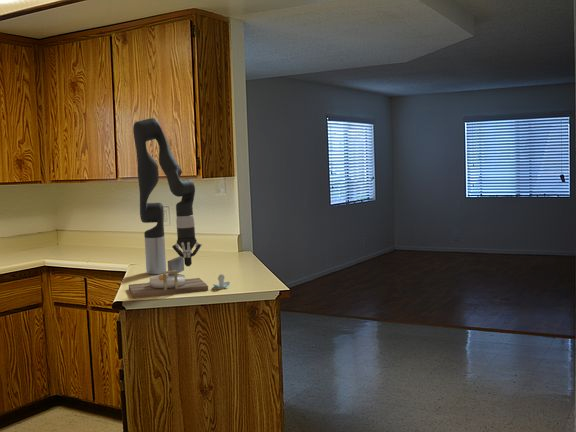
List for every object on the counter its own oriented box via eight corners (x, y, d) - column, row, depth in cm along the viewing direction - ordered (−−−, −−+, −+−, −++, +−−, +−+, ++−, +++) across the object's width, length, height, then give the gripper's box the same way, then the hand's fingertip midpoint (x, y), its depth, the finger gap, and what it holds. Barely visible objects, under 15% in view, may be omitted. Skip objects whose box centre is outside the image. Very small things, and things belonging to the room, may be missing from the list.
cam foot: (167, 276, 287) (166, 256, 286) (198, 277, 284) (197, 256, 283) (143, 287, 265) (142, 265, 264) (176, 288, 262) (175, 265, 261)
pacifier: (208, 289, 271) (217, 290, 266) (207, 274, 270) (216, 275, 266) (223, 286, 275) (231, 287, 271) (222, 271, 275) (230, 272, 270)
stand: (128, 289, 274) (127, 267, 273) (199, 282, 284) (198, 261, 283) (133, 298, 257) (131, 275, 256) (208, 290, 267) (207, 268, 266)
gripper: (168, 227, 277) (171, 268, 279) (198, 226, 276) (201, 267, 278) (172, 225, 285) (175, 265, 286) (202, 224, 283) (205, 263, 285)
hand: (188, 266), depth 282 cm, fingers closed
